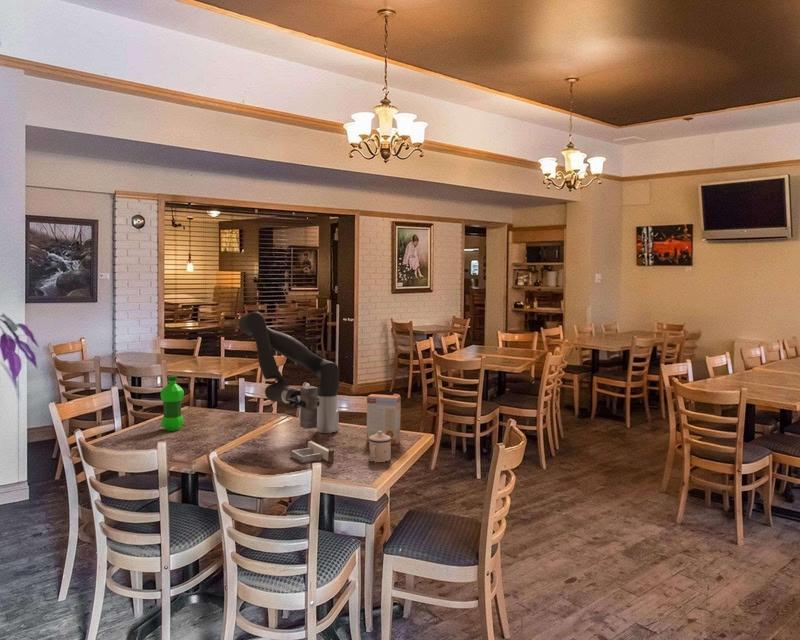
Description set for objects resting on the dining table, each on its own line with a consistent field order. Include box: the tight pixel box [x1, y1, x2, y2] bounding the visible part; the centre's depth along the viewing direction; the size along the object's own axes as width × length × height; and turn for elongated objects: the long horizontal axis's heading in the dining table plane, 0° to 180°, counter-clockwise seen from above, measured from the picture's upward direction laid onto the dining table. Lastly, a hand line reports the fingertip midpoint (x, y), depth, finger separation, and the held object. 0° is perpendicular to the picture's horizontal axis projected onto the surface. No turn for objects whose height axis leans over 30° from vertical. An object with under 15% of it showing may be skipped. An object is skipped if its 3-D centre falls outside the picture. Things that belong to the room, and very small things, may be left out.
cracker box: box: [366, 393, 402, 445], centre depth 273 cm, size 14×6×21 cm, turn 71°
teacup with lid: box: [368, 431, 392, 463], centre depth 246 cm, size 12×9×12 cm
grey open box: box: [290, 437, 335, 464], centre depth 248 cm, size 11×21×5 cm, turn 35°
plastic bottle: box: [160, 375, 185, 432], centre depth 289 cm, size 10×10×25 cm
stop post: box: [299, 385, 319, 430], centre depth 247 cm, size 5×5×16 cm
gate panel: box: [308, 440, 330, 462], centre depth 251 cm, size 18×2×4 cm, turn 35°
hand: (311, 404), depth 245 cm, fingers closed on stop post, 5 cm apart
